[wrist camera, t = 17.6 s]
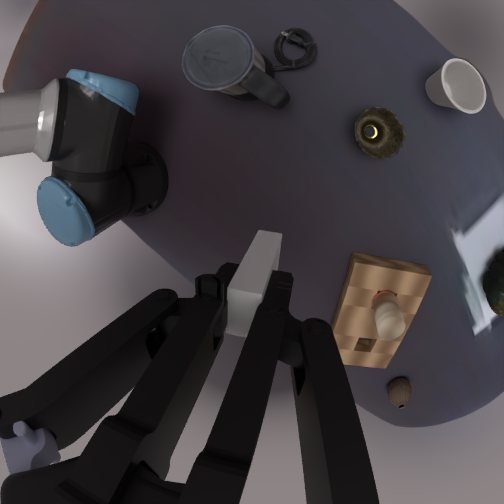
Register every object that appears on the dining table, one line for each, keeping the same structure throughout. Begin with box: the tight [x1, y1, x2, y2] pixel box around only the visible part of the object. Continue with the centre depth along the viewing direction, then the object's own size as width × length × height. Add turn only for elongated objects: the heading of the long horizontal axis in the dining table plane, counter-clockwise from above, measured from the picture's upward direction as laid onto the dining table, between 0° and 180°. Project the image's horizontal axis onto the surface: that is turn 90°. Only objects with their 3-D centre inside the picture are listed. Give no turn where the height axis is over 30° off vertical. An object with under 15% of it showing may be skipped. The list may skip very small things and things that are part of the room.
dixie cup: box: [425, 59, 486, 114], centre depth 26 cm, size 8×8×10 cm
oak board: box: [331, 252, 432, 368], centre depth 51 cm, size 16×26×4 cm, turn 176°
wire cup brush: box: [354, 107, 405, 159], centre depth 34 cm, size 8×7×8 cm
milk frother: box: [182, 25, 316, 109], centre depth 30 cm, size 14×16×15 cm
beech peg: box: [372, 290, 405, 340], centre depth 44 cm, size 5×5×12 cm
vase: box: [387, 378, 411, 409], centre depth 57 cm, size 7×7×9 cm
